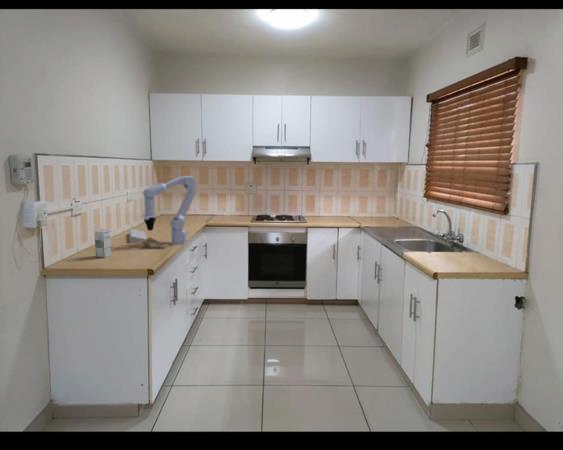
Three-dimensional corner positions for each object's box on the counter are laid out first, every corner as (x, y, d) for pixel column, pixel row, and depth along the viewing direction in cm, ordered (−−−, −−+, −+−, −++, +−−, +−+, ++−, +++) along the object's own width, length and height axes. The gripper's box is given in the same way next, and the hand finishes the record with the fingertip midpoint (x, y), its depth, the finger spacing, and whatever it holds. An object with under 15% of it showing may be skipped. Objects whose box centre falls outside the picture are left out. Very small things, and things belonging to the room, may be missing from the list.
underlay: (171, 244, 249) (171, 244, 249) (164, 249, 233) (164, 249, 233) (148, 244, 249) (148, 243, 249) (140, 249, 233) (140, 249, 233)
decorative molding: (143, 237, 288) (128, 234, 284) (144, 231, 288) (130, 228, 284) (145, 246, 256) (129, 243, 253) (146, 239, 256) (130, 236, 252)
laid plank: (170, 244, 248) (170, 242, 248) (164, 248, 234) (164, 246, 234) (160, 244, 248) (160, 242, 248) (153, 248, 234) (153, 246, 234)
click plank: (159, 244, 248) (159, 242, 248) (152, 248, 234) (153, 246, 234) (149, 238, 247) (149, 237, 247) (141, 243, 233) (142, 241, 233)
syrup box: (111, 255, 216) (110, 229, 214) (104, 258, 210) (103, 231, 208) (102, 255, 217) (101, 229, 215) (95, 257, 212) (93, 230, 210)
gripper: (146, 206, 248) (147, 228, 250) (139, 209, 233) (139, 231, 235) (158, 207, 248) (158, 228, 250) (151, 209, 234) (151, 232, 235)
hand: (150, 230), depth 243 cm, fingers closed
